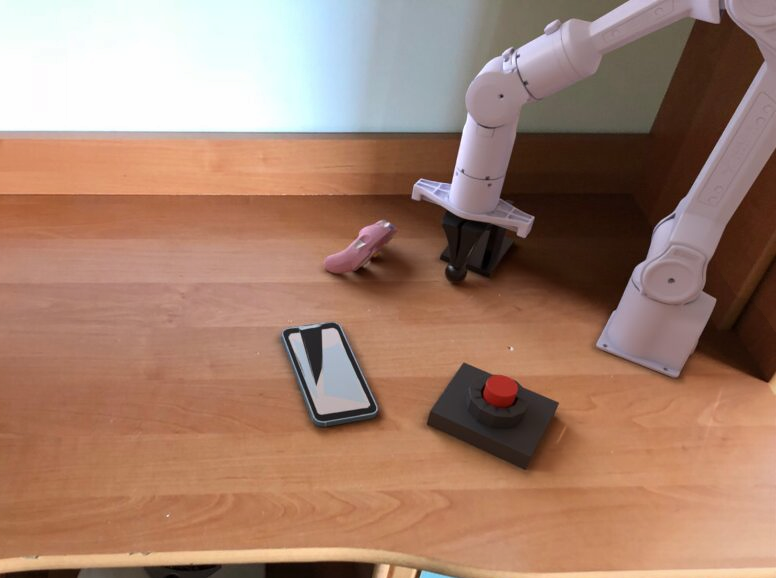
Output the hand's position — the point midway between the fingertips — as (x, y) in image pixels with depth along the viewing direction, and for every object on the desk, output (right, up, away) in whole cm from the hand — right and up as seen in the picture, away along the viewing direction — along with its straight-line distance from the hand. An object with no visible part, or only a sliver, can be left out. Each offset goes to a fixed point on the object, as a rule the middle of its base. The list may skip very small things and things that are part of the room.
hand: (457, 263), depth 100 cm
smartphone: (-17, -14, -11) cm, 25 cm away
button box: (0, -19, -15) cm, 24 cm away
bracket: (+4, +2, +7) cm, 9 cm away
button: (0, -16, -17) cm, 24 cm away
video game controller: (-12, +1, +5) cm, 13 cm away
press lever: (+3, +2, +3) cm, 5 cm away
